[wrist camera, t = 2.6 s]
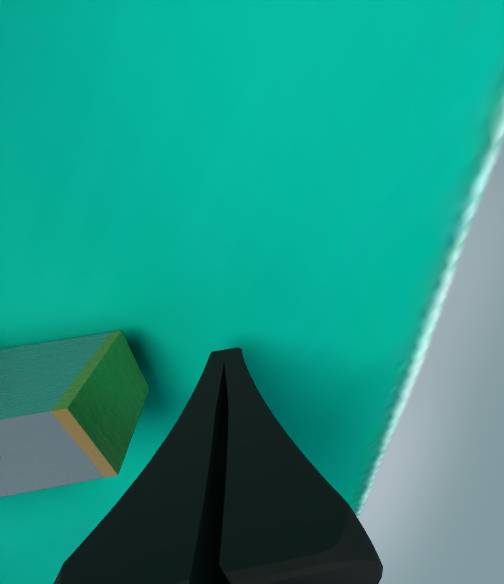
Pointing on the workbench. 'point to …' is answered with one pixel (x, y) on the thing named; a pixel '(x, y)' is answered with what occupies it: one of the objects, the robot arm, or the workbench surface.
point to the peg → (67, 411)
